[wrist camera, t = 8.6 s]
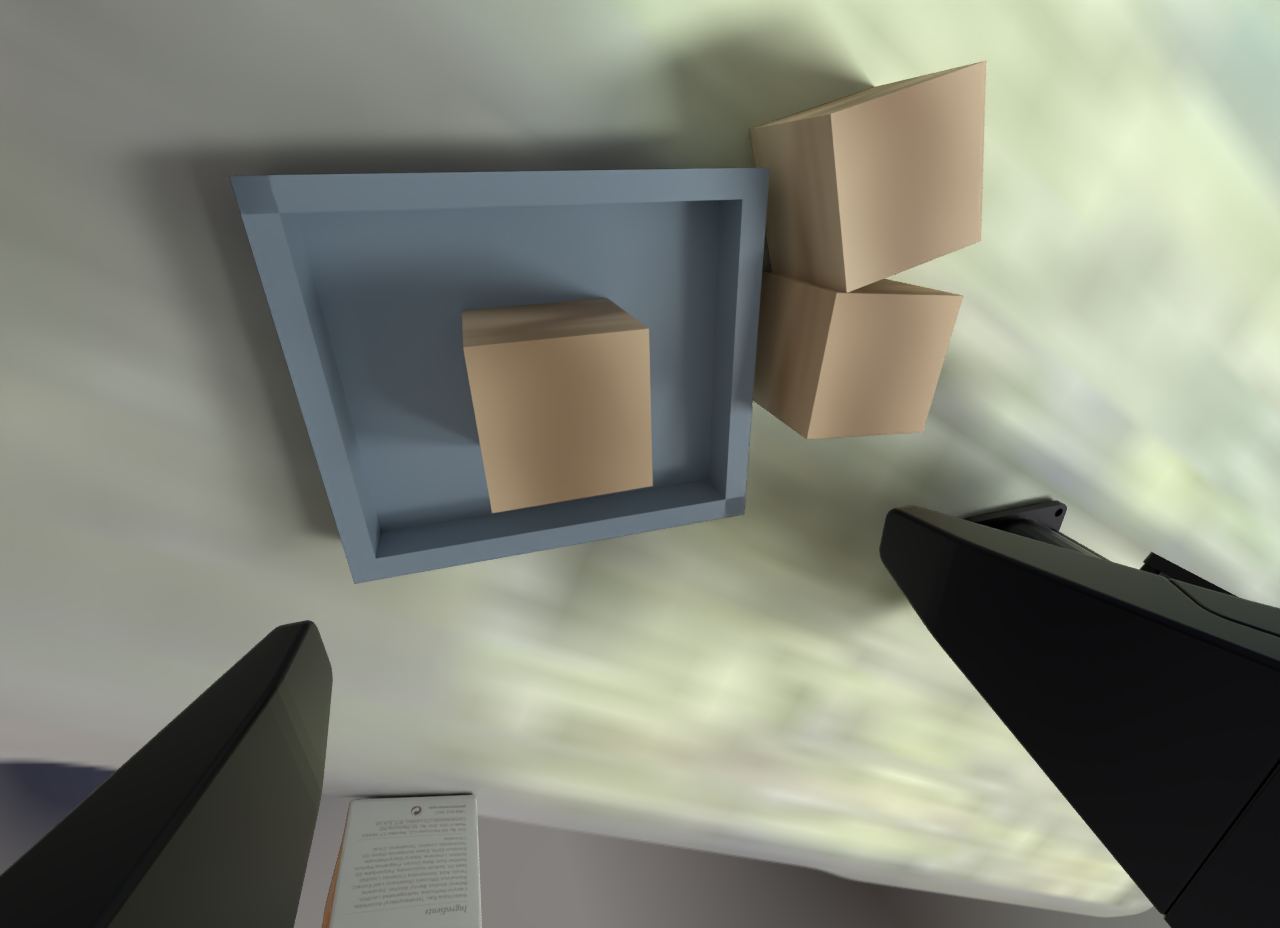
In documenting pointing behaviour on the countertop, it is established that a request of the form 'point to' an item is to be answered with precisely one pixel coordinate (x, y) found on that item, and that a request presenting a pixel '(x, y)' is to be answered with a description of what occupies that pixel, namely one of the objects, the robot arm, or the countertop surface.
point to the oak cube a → (559, 400)
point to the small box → (407, 865)
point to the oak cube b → (850, 355)
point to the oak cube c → (876, 179)
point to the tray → (490, 278)
